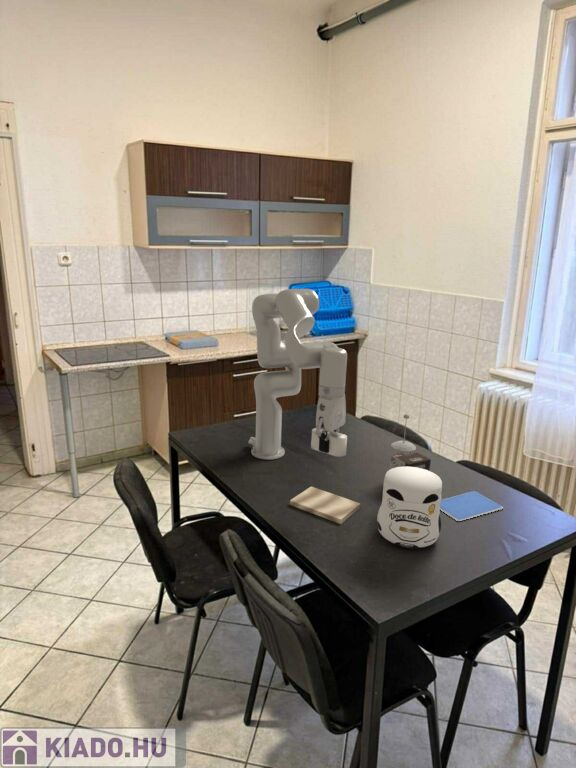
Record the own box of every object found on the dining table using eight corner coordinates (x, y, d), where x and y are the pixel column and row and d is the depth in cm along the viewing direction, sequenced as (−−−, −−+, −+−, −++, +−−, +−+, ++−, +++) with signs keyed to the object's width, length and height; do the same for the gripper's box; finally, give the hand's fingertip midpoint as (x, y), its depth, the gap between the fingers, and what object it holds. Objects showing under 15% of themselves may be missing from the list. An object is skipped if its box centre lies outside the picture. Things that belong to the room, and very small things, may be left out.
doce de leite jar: (399, 560, 140) (405, 498, 135) (364, 526, 155) (369, 469, 150) (452, 546, 146) (460, 487, 141) (413, 516, 162) (420, 461, 157)
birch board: (289, 504, 166) (290, 500, 165) (310, 490, 175) (311, 486, 175) (340, 524, 156) (340, 519, 155) (360, 507, 165) (360, 503, 165)
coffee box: (402, 513, 163) (408, 464, 159) (389, 503, 169) (394, 456, 164) (426, 507, 167) (431, 459, 163) (412, 497, 173) (417, 451, 168)
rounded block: (308, 447, 162) (309, 430, 160) (316, 443, 165) (317, 426, 163) (341, 457, 155) (342, 440, 154) (348, 453, 159) (349, 435, 157)
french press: (379, 483, 182) (385, 413, 175) (397, 473, 190) (404, 406, 183) (404, 493, 175) (412, 421, 168) (422, 482, 183) (430, 413, 176)
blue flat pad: (458, 524, 159) (458, 520, 158) (429, 505, 170) (429, 501, 169) (504, 511, 168) (505, 507, 167) (473, 493, 178) (474, 489, 178)
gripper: (327, 400, 146) (324, 461, 151) (357, 386, 160) (352, 443, 165) (304, 394, 150) (302, 454, 155) (335, 382, 164) (331, 437, 169)
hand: (328, 448), depth 160 cm, fingers closed on rounded block, 4 cm apart
